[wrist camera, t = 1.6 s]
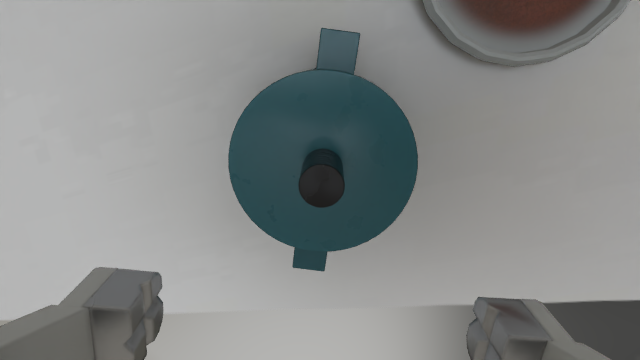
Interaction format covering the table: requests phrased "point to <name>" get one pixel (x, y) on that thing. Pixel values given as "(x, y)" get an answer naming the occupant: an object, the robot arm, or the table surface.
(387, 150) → the lid
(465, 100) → the table surface
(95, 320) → the robot arm
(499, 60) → the frying pan
